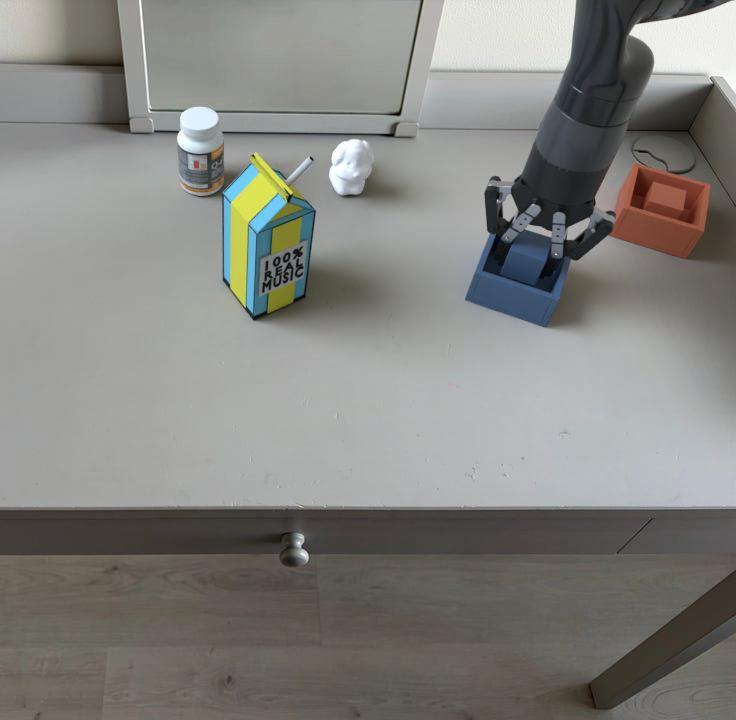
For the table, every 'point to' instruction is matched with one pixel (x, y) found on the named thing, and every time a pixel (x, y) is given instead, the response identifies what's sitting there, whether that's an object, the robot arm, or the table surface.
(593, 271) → the table surface
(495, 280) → the slate bin
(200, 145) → the pill bottle
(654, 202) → the terracotta block
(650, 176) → the terracotta bin
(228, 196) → the carton
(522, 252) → the slate-blue block
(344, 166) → the figurine
